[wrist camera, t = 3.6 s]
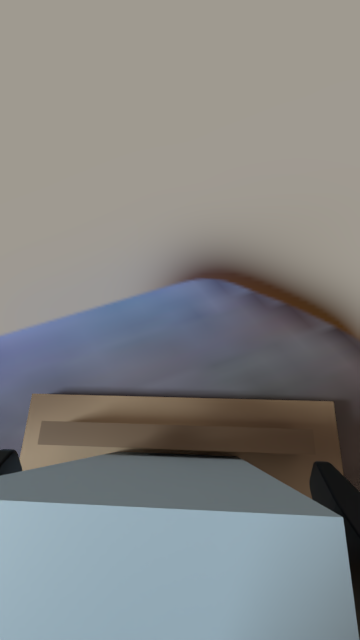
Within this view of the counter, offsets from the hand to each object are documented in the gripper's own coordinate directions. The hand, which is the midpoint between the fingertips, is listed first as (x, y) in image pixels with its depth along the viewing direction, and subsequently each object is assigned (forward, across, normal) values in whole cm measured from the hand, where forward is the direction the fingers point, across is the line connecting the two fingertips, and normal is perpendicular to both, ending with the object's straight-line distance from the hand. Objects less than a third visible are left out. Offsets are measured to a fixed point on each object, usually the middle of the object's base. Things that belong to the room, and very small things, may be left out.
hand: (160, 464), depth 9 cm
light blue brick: (+4, 0, +6) cm, 7 cm away
